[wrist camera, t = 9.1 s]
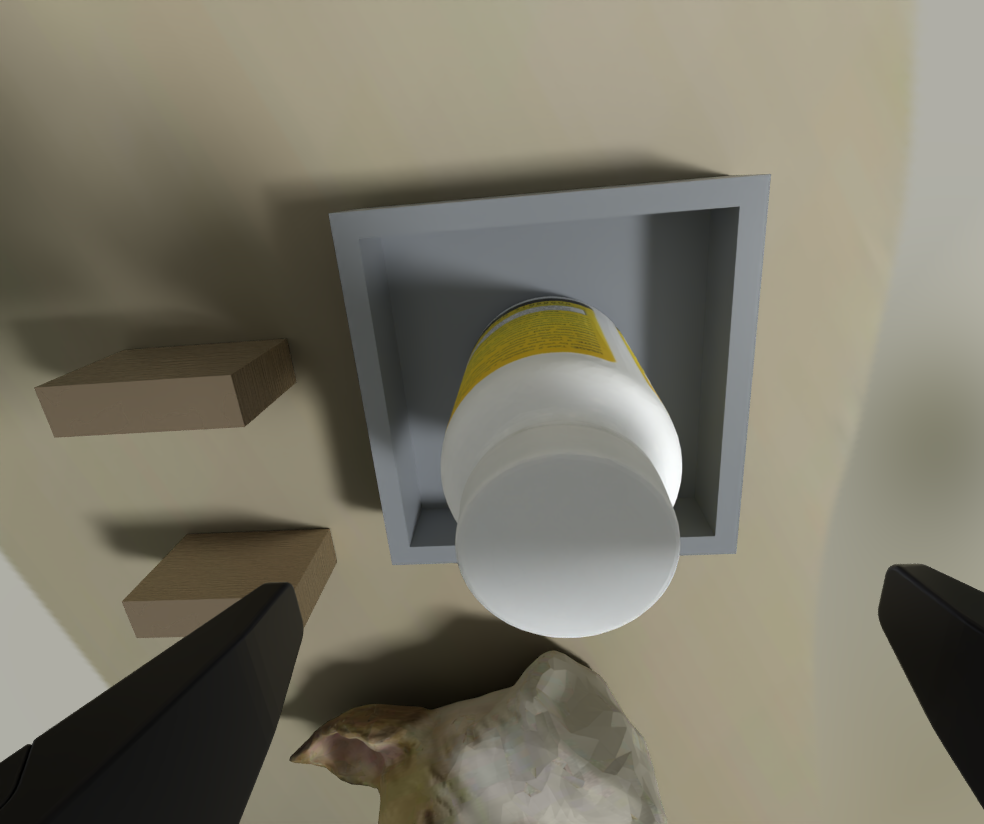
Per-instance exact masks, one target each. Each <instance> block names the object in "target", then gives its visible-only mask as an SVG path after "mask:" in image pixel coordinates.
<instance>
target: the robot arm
mask: <svg viewBox="0 0 984 824" xmlns="http://www.w3.org/2000/svg"><path fill="white" fill-rule="evenodd" d="M878 616H879V621H880V624H881V626H882V629H883V631H884V633H885V635H886V637H887V638H888V641H889V643H890V645H891V647H892V649H893V650H894V653H895V655H896V656H897V659H898V660H899V663H900V664H901V667H902V668H903V670H904V672H905V675H906V677H907V678H908V681H909V682H910V685H911V686H912V688H913V690H914V692H915V694H916V696H917V698H918V700H919V702H920V704H921V706H922V708H923V710H924V712H925V714H926V716H927V718H928V719H929V721H930V723H931V725H932V727H933V729H934V730H935V732H936V734H937V736H938V737H939V739H940V740H941V742H942V744H943V745H944V747H945V749H946V750H947V752H948V754H949V755H950V757H951V758H952V760H953V761H954V763H955V765H956V766H957V768H958V769H959V771H960V772H961V774H962V776H963V777H964V779H965V781H966V782H967V784H968V785H969V787H970V788H971V790H972V791H973V793H974V795H975V796H976V798H977V800H978V801H979V803H980V804H981V806H982V807H983V809H984V592H982V591H980V590H977V589H975V588H973V587H971V586H969V585H967V584H965V583H963V582H960V581H958V580H956V579H954V578H952V577H950V576H947V575H946V574H943V573H941V572H939V571H937V570H935V569H932V568H931V567H928V566H926V565H923V564H895V565H892V566H890V567H889V568H888V570H887V572H886V575H885V580H884V585H883V589H882V593H881V598H880V603H879V608H878ZM303 629H304V627H303V619H302V616H301V612H300V608H299V604H298V601H297V597H296V593H295V590H294V587H293V586H292V584H290V583H288V582H268V583H264V584H262V585H260V586H259V587H258V588H256V589H255V590H253V591H252V592H250V593H249V594H247V595H246V596H244V597H243V598H241V599H240V600H238V601H237V602H236V603H234V604H233V605H231V606H230V607H228V608H227V609H225V610H224V611H222V612H221V613H219V614H218V615H216V616H215V617H214V618H212V619H211V620H209V621H208V622H206V623H205V624H203V625H202V626H200V627H199V628H197V629H196V630H194V631H193V632H192V633H190V634H189V635H187V636H186V637H184V638H183V639H181V640H180V641H178V642H177V643H175V644H174V645H172V646H171V647H169V648H168V649H167V650H165V651H164V652H162V653H161V654H159V655H158V656H156V657H155V658H153V659H152V660H150V661H149V662H147V663H146V664H145V665H143V666H142V667H140V668H139V669H137V670H136V671H134V672H133V673H131V674H130V675H128V676H127V677H125V678H124V679H122V680H121V681H120V682H118V683H117V684H115V685H114V686H112V687H111V688H109V689H108V690H106V691H105V692H103V693H102V694H101V695H99V696H98V697H96V698H95V699H93V700H92V701H90V702H89V703H87V704H86V705H84V706H83V707H81V708H80V709H79V710H77V711H76V712H74V713H73V714H71V715H70V716H68V717H67V718H65V719H64V720H62V721H61V722H60V723H58V724H57V725H55V726H53V727H52V728H51V729H49V730H48V731H46V732H45V733H43V734H42V735H40V736H39V737H37V738H36V739H35V740H34V741H33V744H32V745H31V744H27V745H25V746H24V747H23V748H21V749H19V750H18V751H17V752H15V753H14V754H12V755H11V756H9V757H8V758H6V759H5V760H4V761H2V762H1V763H0V824H239V822H240V820H241V817H242V815H243V812H244V810H245V807H246V805H247V802H248V800H249V797H250V795H251V792H252V790H253V787H254V785H255V782H256V780H257V777H258V775H259V772H260V770H261V767H262V765H263V762H264V760H265V757H266V755H267V752H268V750H269V747H270V744H271V742H272V739H273V736H274V733H275V731H276V727H277V724H278V721H279V718H280V715H281V711H282V708H283V704H284V701H285V697H286V694H287V690H288V687H289V683H290V680H291V676H292V673H293V669H294V666H295V662H296V659H297V655H298V652H299V648H300V645H301V641H302V637H303Z"/></svg>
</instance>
